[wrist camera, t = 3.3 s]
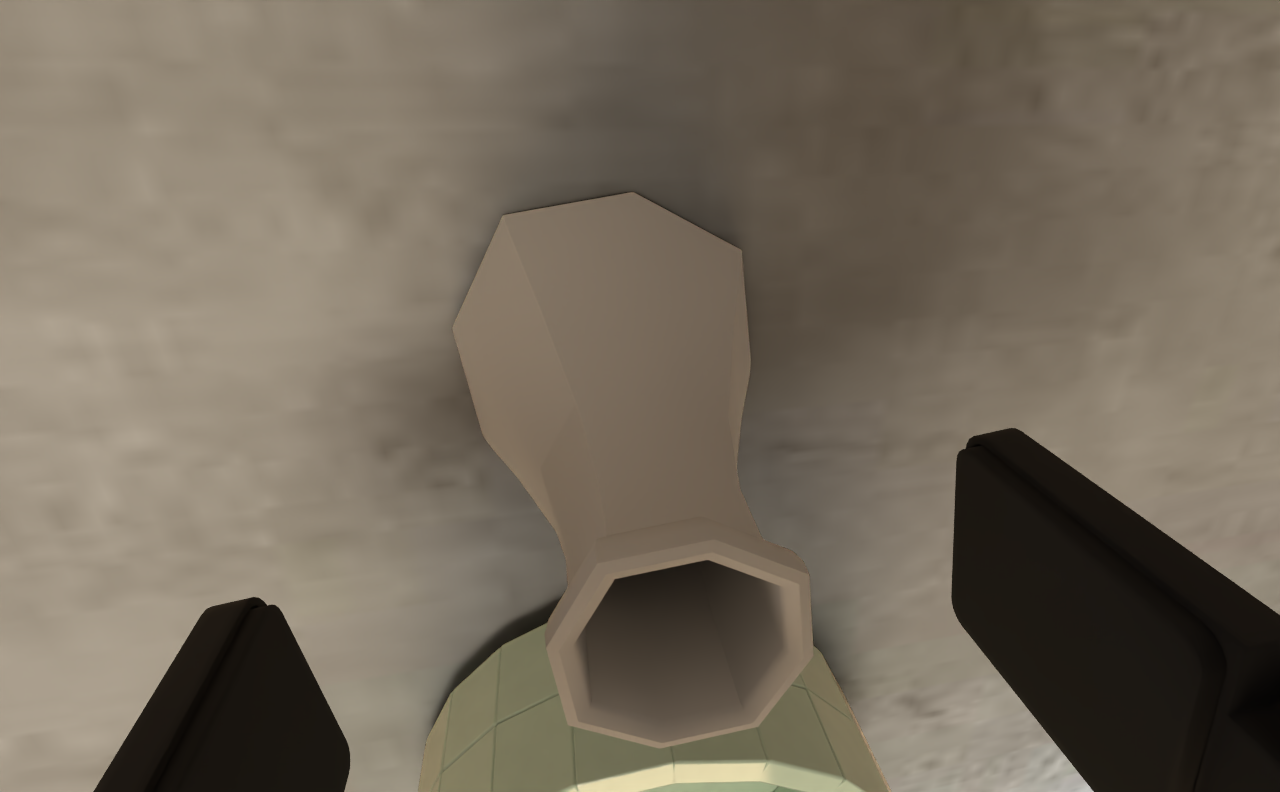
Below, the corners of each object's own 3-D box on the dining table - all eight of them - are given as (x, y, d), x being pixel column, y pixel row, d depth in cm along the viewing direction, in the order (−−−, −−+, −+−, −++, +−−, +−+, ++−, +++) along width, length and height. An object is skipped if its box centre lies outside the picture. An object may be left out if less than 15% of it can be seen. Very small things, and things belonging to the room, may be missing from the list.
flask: (784, 214, 16) (1090, 402, 7) (717, 480, 19) (876, 847, 10) (463, 163, 15) (354, 319, 6) (444, 458, 18) (351, 862, 9)
